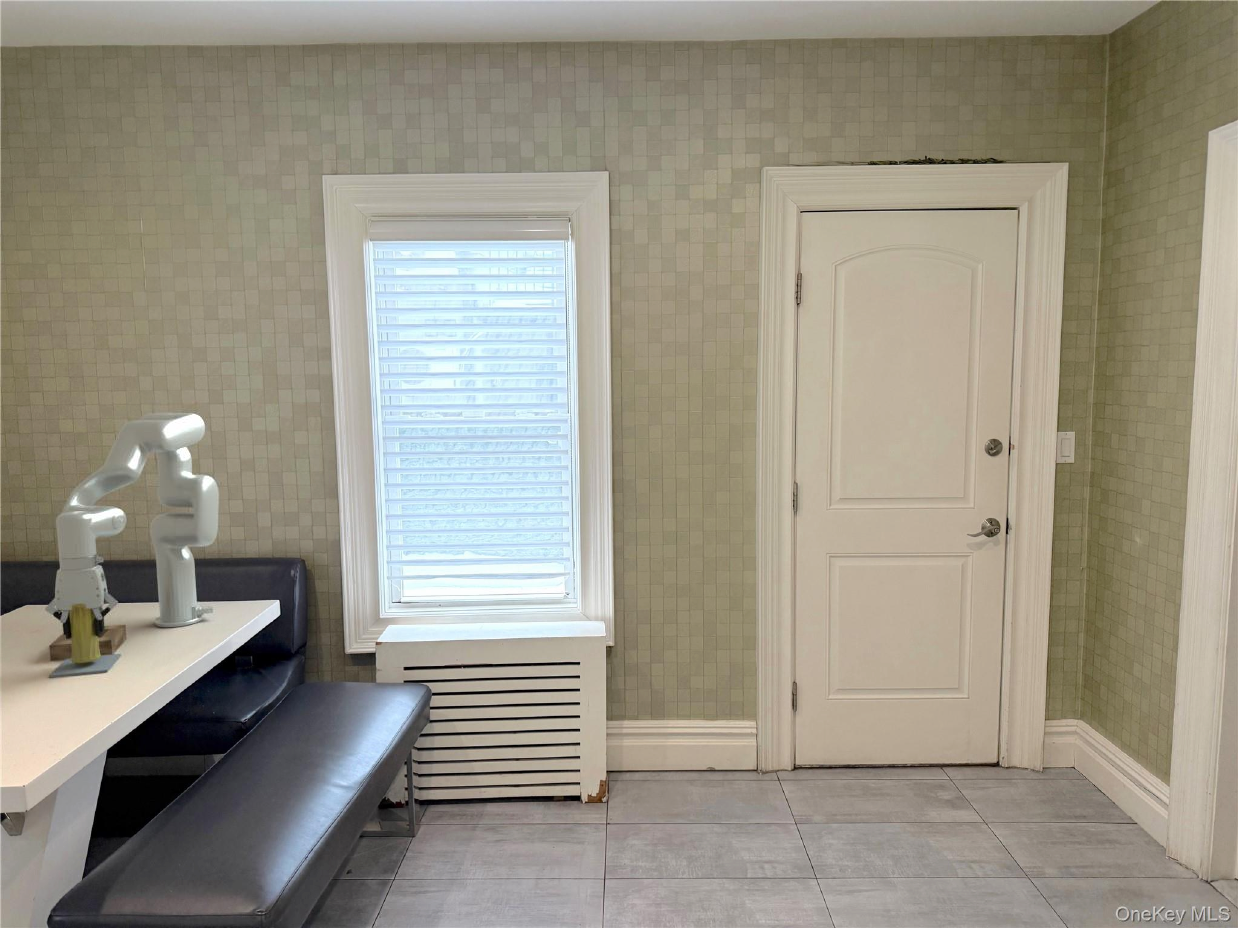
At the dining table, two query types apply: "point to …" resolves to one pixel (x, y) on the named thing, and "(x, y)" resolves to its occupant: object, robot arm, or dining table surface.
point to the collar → (107, 640)
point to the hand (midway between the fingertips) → (84, 635)
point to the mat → (85, 666)
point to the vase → (83, 635)
